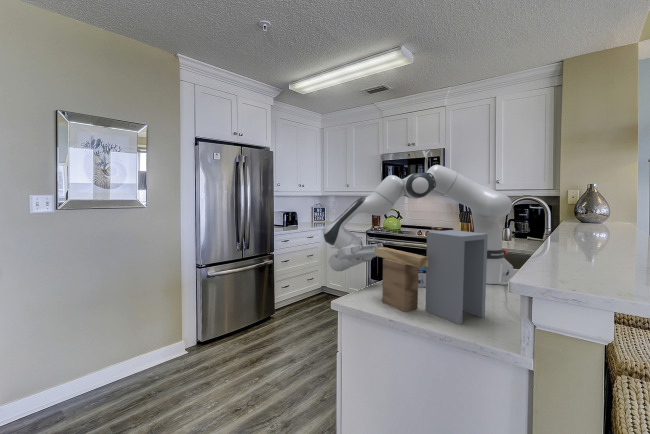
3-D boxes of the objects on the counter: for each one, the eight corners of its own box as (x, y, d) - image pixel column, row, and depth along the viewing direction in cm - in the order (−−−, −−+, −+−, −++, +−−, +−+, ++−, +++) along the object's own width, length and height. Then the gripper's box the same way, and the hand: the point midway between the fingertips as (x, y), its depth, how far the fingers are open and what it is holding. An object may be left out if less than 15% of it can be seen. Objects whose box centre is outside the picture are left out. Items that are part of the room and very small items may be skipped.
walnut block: (395, 299, 117) (396, 257, 116) (417, 308, 107) (418, 262, 106) (382, 301, 114) (382, 258, 113) (403, 311, 104) (404, 264, 103)
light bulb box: (430, 287, 131) (430, 261, 130) (413, 286, 132) (413, 261, 132) (427, 281, 141) (427, 256, 141) (411, 280, 143) (411, 256, 142)
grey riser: (450, 304, 111) (452, 229, 109) (484, 316, 100) (487, 234, 98) (425, 310, 105) (427, 231, 103) (458, 324, 94) (461, 236, 92)
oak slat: (383, 254, 120) (383, 247, 120) (428, 266, 101) (428, 257, 100) (376, 255, 118) (376, 247, 118) (419, 267, 99) (420, 258, 99)
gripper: (330, 249, 131) (347, 239, 119) (369, 246, 141) (389, 236, 130) (333, 265, 129) (351, 256, 118) (373, 260, 139) (393, 251, 128)
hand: (371, 246), depth 124 cm, fingers open, 8 cm apart
